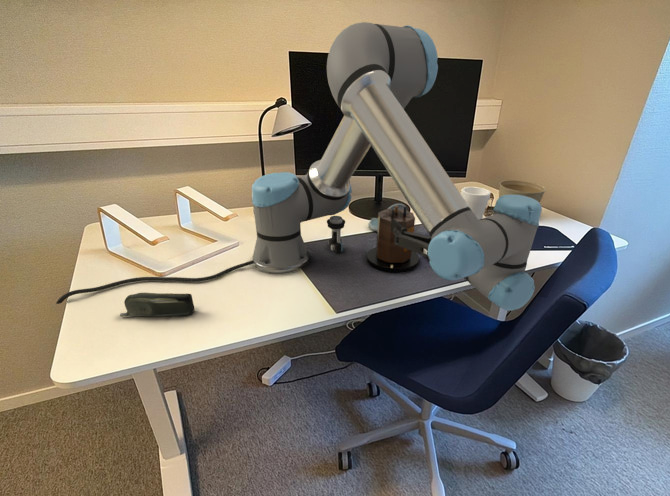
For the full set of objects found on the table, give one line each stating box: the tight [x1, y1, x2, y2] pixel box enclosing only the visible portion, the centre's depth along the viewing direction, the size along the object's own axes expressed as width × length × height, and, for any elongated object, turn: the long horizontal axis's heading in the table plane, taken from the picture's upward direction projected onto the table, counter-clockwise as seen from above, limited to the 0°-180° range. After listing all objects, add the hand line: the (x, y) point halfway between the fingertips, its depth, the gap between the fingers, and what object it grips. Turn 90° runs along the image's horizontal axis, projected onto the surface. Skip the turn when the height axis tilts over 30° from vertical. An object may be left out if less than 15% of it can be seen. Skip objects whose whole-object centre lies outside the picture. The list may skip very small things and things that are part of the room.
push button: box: [326, 215, 346, 254], centre depth 116 cm, size 7×5×10 cm
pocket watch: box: [368, 202, 406, 233], centre depth 131 cm, size 10×11×15 cm
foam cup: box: [460, 186, 492, 220], centre depth 134 cm, size 10×9×13 cm
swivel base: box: [366, 246, 420, 274], centre depth 113 cm, size 15×15×2 cm
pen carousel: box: [375, 205, 416, 263], centre depth 109 cm, size 10×10×14 cm
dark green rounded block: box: [119, 292, 195, 317], centre depth 86 cm, size 5×3×15 cm
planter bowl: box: [498, 179, 546, 204], centre depth 149 cm, size 16×16×11 cm
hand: (417, 221), depth 97 cm, fingers open, 13 cm apart
